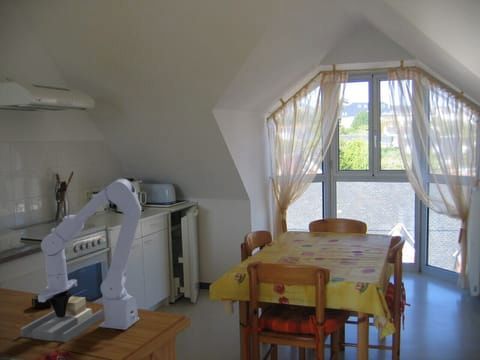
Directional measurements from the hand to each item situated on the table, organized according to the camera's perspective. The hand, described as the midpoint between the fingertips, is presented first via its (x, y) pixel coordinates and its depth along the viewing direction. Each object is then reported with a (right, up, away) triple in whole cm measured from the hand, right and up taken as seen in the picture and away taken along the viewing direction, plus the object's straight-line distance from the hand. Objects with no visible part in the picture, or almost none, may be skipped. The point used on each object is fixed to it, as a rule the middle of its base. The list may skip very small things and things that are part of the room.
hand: (61, 316), depth 143 cm
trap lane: (+1, -3, +1) cm, 4 cm away
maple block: (+2, 0, +6) cm, 6 cm away
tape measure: (-13, -2, +21) cm, 25 cm away
